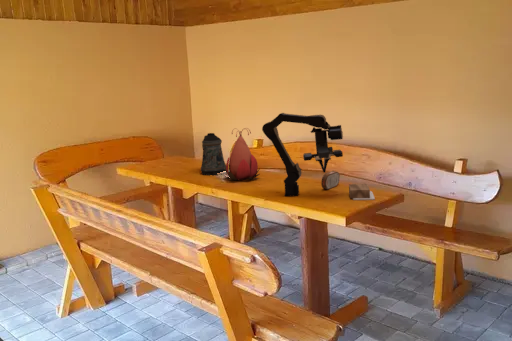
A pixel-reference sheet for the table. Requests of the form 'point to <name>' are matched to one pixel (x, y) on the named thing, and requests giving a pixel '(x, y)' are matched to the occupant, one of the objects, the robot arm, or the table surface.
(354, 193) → the walnut board
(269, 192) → the table surface
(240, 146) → the decorative flower
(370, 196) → the mat
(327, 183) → the tin
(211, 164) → the beer stein
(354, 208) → the table surface
